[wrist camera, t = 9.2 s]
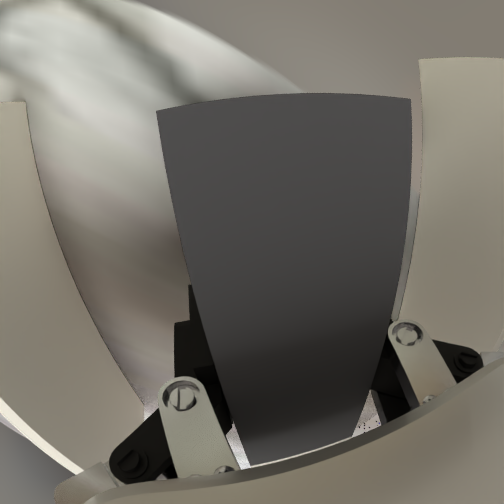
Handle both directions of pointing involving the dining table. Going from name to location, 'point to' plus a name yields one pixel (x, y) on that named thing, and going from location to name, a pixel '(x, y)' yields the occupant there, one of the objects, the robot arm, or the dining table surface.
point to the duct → (413, 305)
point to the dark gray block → (292, 252)
